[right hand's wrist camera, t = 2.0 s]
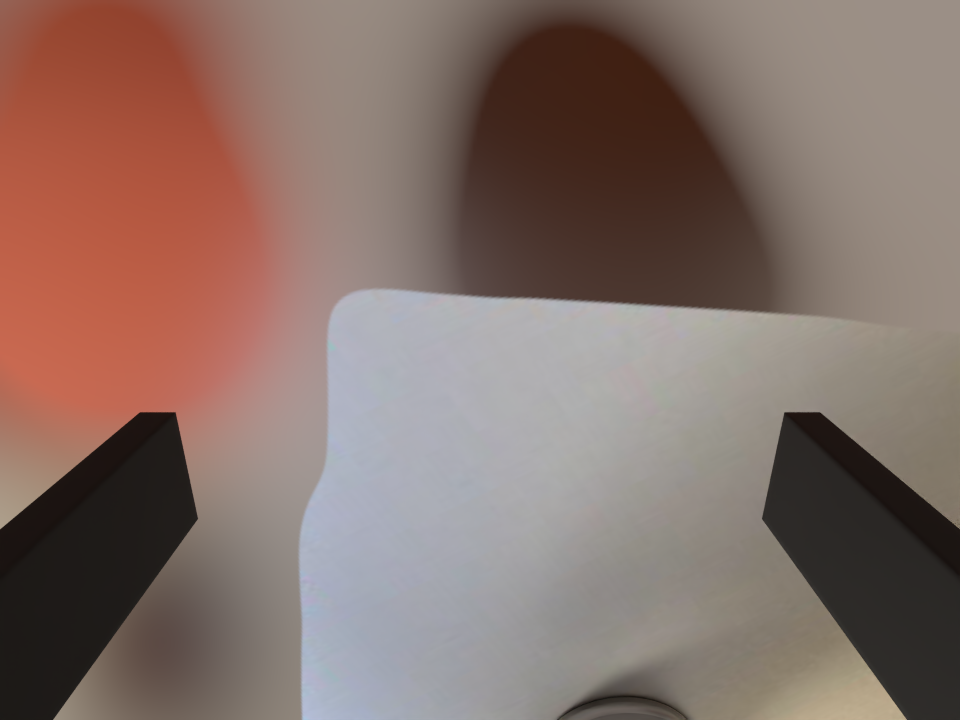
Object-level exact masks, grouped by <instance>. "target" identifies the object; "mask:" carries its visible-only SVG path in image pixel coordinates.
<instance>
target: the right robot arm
mask: <svg viewBox="0 0 960 720" xmlns="http://www.w3.org/2000/svg"><path fill="white" fill-rule="evenodd" d="M197 519H198V517H197V512H196V507H195V503H194V498H193V493H192V489H191V484H190V479H189V474H188V469H187V465H186V460H185V455H184V450H183V446H182V441H181V436H180V431H179V427H178V422H177V417H176V413H175V412H140V413H139V414H138V415H136V416H135V417H134V418H133V419H132V420H130V421H129V422H128V423H127V424H126V425H124V426H123V427H122V428H121V429H120V430H118V431H117V432H116V433H115V434H114V435H112V436H111V437H110V438H109V439H108V440H106V441H105V442H104V443H103V444H102V445H101V446H99V447H98V448H97V449H96V450H95V451H93V452H92V453H91V454H90V455H89V456H87V457H86V458H85V459H84V460H83V461H81V462H80V463H79V464H78V465H77V466H75V467H74V468H73V469H72V470H71V471H69V472H68V473H67V474H66V475H65V476H63V477H62V478H61V479H60V480H59V481H57V482H56V483H55V484H54V485H53V486H52V487H50V488H49V489H48V490H47V491H46V492H44V493H43V494H42V495H41V496H40V497H38V498H37V499H36V500H35V501H34V502H32V503H31V504H30V505H29V506H28V507H26V508H25V509H24V510H23V511H22V512H20V513H19V514H18V515H17V516H16V517H15V518H13V519H12V520H11V521H10V522H8V523H7V524H6V525H5V526H4V527H3V528H1V529H0V720H53V719H54V718H55V716H56V715H57V713H58V712H59V711H60V709H61V708H62V707H63V705H64V704H65V702H66V701H67V700H68V698H69V697H70V695H71V694H72V693H73V691H74V690H75V689H76V687H77V686H78V684H79V683H80V682H81V680H82V679H83V677H84V676H85V675H86V673H87V672H88V670H89V669H90V668H91V666H92V665H93V664H94V662H95V661H96V659H97V658H98V657H99V655H100V654H101V652H102V651H103V650H104V648H105V647H106V646H107V644H108V643H109V641H110V640H111V639H112V637H113V636H114V634H115V633H116V632H117V630H118V629H119V628H120V626H121V625H122V623H123V622H124V621H125V619H126V618H127V616H128V615H129V614H130V612H131V611H132V609H133V608H134V607H135V605H136V604H137V603H138V601H139V600H140V598H141V597H142V596H143V594H144V593H145V591H146V590H147V589H148V587H149V586H150V585H151V583H152V582H153V580H154V579H155V578H156V576H157V575H158V573H159V572H160V571H161V569H162V568H163V567H164V565H165V564H166V562H167V561H168V560H169V558H170V557H171V555H172V554H173V553H174V551H175V550H176V549H177V547H178V546H179V544H180V543H181V542H182V540H183V539H184V537H185V536H186V535H187V533H188V532H189V531H190V529H191V528H192V526H193V525H194V524H195V522H196V521H197ZM762 519H763V521H764V522H765V524H766V525H767V526H768V528H769V529H770V531H771V532H772V533H773V535H774V536H775V537H776V539H777V540H778V542H779V543H780V544H781V546H782V547H783V549H784V550H785V551H786V553H787V554H788V555H789V557H790V558H791V560H792V561H793V562H794V564H795V565H796V567H797V568H798V569H799V571H800V572H801V573H802V575H803V576H804V578H805V579H806V580H807V582H808V583H809V585H810V586H811V587H812V589H813V590H814V592H815V593H816V594H817V596H818V597H819V598H820V600H821V601H822V603H823V604H824V605H825V607H826V608H827V610H828V611H829V612H830V614H831V615H832V616H833V618H834V619H835V621H836V622H837V623H838V625H839V626H840V628H841V629H842V630H843V632H844V633H845V634H846V636H847V637H848V639H849V640H850V641H851V643H852V644H853V646H854V647H855V648H856V650H857V651H858V652H859V654H860V655H861V657H862V658H863V659H864V661H865V662H866V664H867V665H868V666H869V668H870V669H871V671H872V672H873V673H874V675H875V676H876V677H877V679H878V680H879V682H880V683H881V684H882V686H883V687H884V689H885V690H886V691H887V693H888V694H889V695H890V697H891V698H892V700H893V701H894V702H895V704H896V705H897V707H898V708H899V709H900V711H901V712H902V713H903V715H904V716H905V718H906V719H907V720H960V529H959V528H957V527H956V526H955V525H954V524H953V523H952V522H950V521H949V520H948V519H947V518H946V517H944V516H943V515H942V514H941V513H940V512H938V511H937V510H936V509H935V508H934V507H932V506H931V505H930V504H929V503H928V502H926V501H925V500H924V499H923V498H922V497H920V496H919V495H918V494H917V493H916V492H914V491H913V490H912V489H911V488H910V487H909V486H907V485H906V484H905V483H904V482H903V481H901V480H900V479H899V478H898V477H897V476H895V475H894V474H893V473H892V472H891V471H889V470H888V469H887V468H886V467H885V466H883V465H882V464H881V463H880V462H879V461H877V460H876V459H875V458H874V457H873V456H871V455H870V454H869V453H868V452H867V451H865V450H864V449H863V448H862V447H861V446H860V445H858V444H857V443H856V442H855V441H854V440H852V439H851V438H850V437H849V436H848V435H846V434H845V433H844V432H843V431H842V430H840V429H839V428H838V427H837V426H836V425H834V424H833V423H832V422H831V421H830V420H828V419H827V418H826V417H825V416H824V415H822V414H821V413H820V412H784V417H783V422H782V427H781V431H780V436H779V441H778V446H777V450H776V455H775V460H774V465H773V469H772V474H771V479H770V484H769V488H768V493H767V498H766V503H765V507H764V512H763V517H762ZM559 720H687V719H686V718H685V717H684V716H683V715H681V714H680V713H679V712H677V711H676V710H674V709H672V708H671V707H669V706H667V705H664V704H662V703H659V702H656V701H652V700H648V699H643V698H634V697H617V698H608V699H602V700H598V701H594V702H591V703H588V704H585V705H583V706H580V707H578V708H576V709H574V710H572V711H570V712H569V713H567V714H565V715H564V716H563V717H561V718H560V719H559Z"/></svg>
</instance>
